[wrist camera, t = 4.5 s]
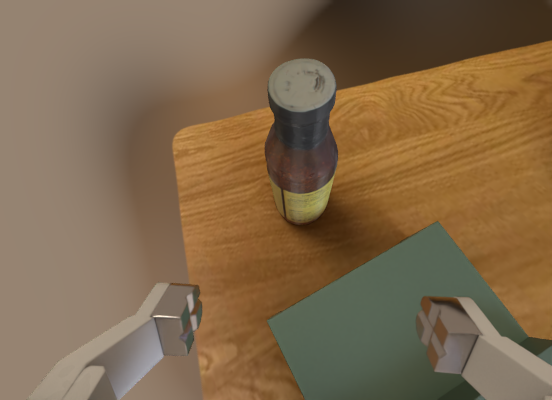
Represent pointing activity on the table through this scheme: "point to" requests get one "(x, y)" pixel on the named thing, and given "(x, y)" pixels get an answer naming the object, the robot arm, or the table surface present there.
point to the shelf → (388, 325)
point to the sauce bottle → (301, 139)
